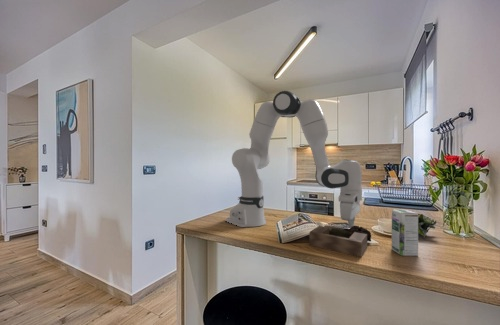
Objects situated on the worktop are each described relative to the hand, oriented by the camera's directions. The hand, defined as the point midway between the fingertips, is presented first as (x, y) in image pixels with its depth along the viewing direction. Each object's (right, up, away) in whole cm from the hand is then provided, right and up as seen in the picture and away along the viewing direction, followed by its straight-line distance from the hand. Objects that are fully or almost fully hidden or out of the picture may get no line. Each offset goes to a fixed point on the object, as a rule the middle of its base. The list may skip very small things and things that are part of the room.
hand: (351, 226), depth 98 cm
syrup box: (+8, -3, -23) cm, 24 cm away
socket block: (-13, -3, -17) cm, 21 cm away
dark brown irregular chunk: (-6, -3, -8) cm, 10 cm away
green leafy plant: (+26, -3, -6) cm, 27 cm away
